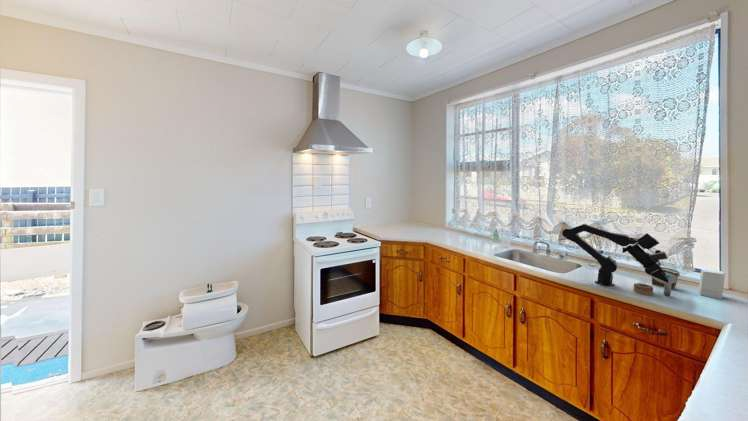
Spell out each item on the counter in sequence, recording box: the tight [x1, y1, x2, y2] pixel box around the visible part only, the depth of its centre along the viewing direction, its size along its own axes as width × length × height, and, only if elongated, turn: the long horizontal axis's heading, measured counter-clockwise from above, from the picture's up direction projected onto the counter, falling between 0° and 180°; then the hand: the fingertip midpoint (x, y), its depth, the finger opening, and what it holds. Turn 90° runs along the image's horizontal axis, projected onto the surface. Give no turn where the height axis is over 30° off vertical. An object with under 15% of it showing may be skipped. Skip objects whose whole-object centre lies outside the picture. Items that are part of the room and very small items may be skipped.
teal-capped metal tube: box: [663, 274, 672, 297], centre depth 147 cm, size 2×2×11 cm
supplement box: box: [698, 268, 726, 300], centre depth 148 cm, size 7×7×13 cm
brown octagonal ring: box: [633, 282, 654, 295], centre depth 152 cm, size 7×7×4 cm
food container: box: [651, 267, 681, 291], centre depth 160 cm, size 12×6×10 cm, turn 22°
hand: (667, 279), depth 147 cm, fingers open, 9 cm apart
